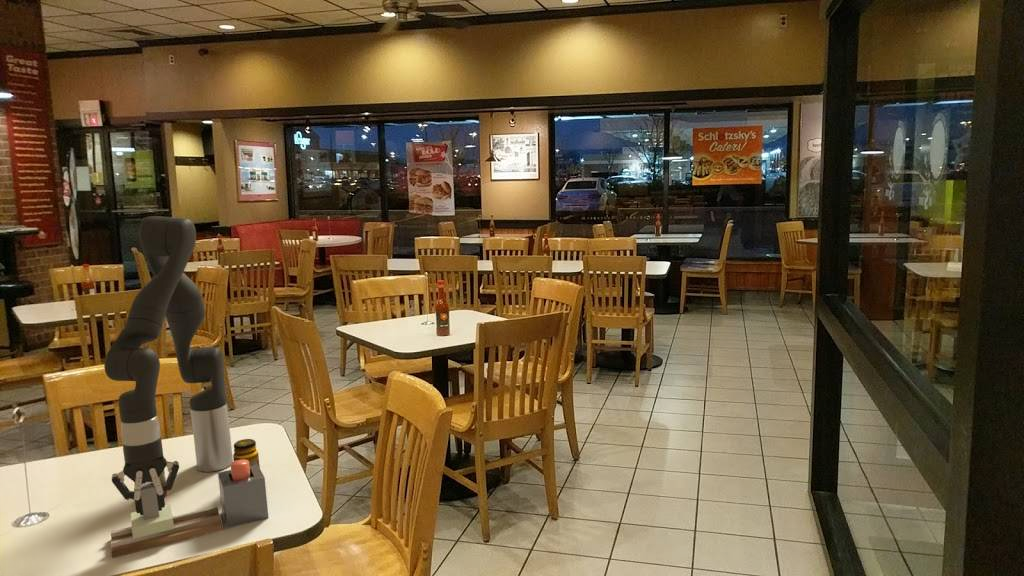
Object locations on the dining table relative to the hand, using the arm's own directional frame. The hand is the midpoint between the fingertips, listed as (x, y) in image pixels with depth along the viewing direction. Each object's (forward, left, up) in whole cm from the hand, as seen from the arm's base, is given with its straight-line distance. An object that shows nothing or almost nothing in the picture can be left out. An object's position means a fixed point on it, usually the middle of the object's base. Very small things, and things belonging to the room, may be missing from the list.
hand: (150, 511), depth 157 cm
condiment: (-16, +22, -7) cm, 28 cm away
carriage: (0, 0, -4) cm, 4 cm away
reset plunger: (0, +19, +1) cm, 19 cm away
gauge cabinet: (0, +19, -6) cm, 20 cm away
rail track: (0, +3, -6) cm, 7 cm away
